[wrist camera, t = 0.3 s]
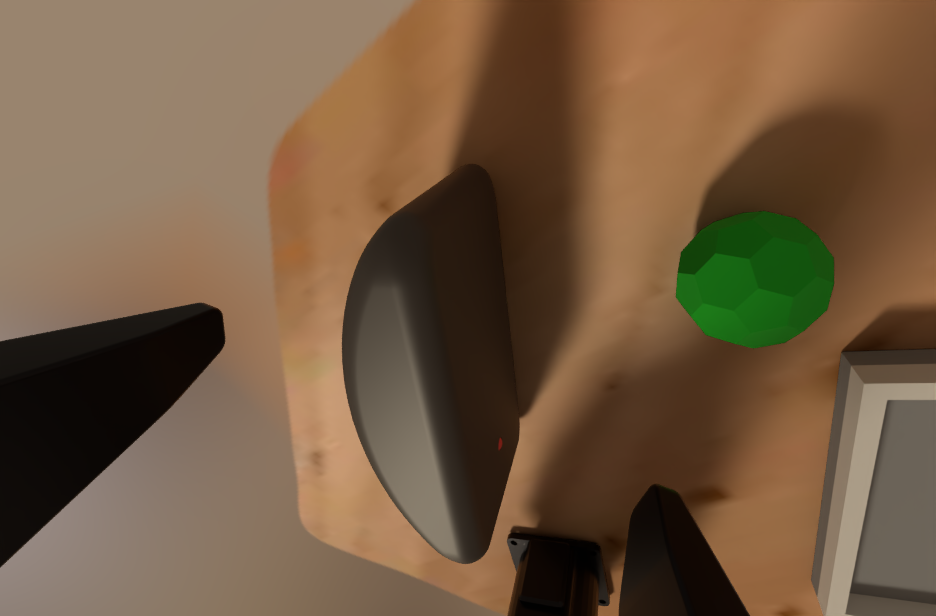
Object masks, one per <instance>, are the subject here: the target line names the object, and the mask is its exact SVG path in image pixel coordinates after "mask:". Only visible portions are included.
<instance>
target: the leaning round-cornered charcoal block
mask: <svg viewBox="0 0 936 616" xmlns="http://www.w3.org/2000/svg"><path fill="white" fill-rule="evenodd" d="M342 363H343V373H344V382H345V388H346V394H347V399H348V403H349V407H350V411H351V415H352V419H353V422H354V425H355V428H356V431H357V434H358V437H359V439H360V442H361V444H362V446H363V449H364V451H365V454H366V456H367V458H368V460H369V462H370V464H371V466H372V468H373V470H374V472H375V473H376V475H377V477H378V479H379V481H380V482H381V484H382V486H383V487H384V489H385V490H386V492H387V494H388V495H389V497H390V498H391V499H392V501H393V502H394V504H395V505H396V507H397V508H398V509H399V510H400V512H401V513H402V514H403V516H404V517H405V518H406V519H407V521H408V522H409V523H410V524H411V525H412V526H413V528H414V529H415V530H416V531H417V532H418V533H419V534H420V535H421V536H422V537H423V538H424V539H425V540H426V541H427V542H428V543H429V544H430V545H431V546H432V547H433V548H434V549H435V550H436V551H437V552H438V553H440V554H441V555H443V556H444V557H446V558H448V559H450V560H452V561H455V562H458V563H462V564H470V563H473V562H476V561H478V560H479V559H480V558H482V557H483V556H484V554H485V553H486V552H487V550H488V548H489V545H490V542H491V538H492V534H493V531H494V527H495V524H496V520H497V516H498V513H499V509H500V506H501V502H502V498H503V495H504V491H505V488H506V484H507V480H508V477H509V473H510V470H511V466H512V462H513V459H514V455H515V452H516V448H517V444H518V441H519V428H520V423H519V411H518V401H517V392H516V383H515V374H514V364H513V355H512V346H511V337H510V327H509V318H508V309H507V300H506V290H505V281H504V272H503V263H502V253H501V244H500V235H499V226H498V216H497V207H496V199H495V193H494V188H493V185H492V182H491V179H490V177H489V175H488V173H487V172H486V170H485V169H483V168H482V167H480V166H478V165H475V164H467V165H464V166H462V167H460V168H458V169H457V170H456V171H454V172H453V173H451V174H450V175H448V176H447V177H446V178H444V179H443V180H441V181H440V182H438V183H437V184H436V185H434V186H433V187H431V188H430V189H429V190H427V191H426V192H424V193H423V194H421V195H420V196H419V197H417V198H416V199H414V200H413V201H411V202H410V203H409V204H407V205H406V206H404V207H403V208H401V209H400V210H399V211H397V212H396V213H394V214H393V215H391V216H390V217H389V218H388V219H387V220H386V221H385V222H384V223H383V224H382V225H381V227H380V228H379V229H378V230H377V231H376V233H375V234H374V235H373V237H372V238H371V240H370V241H369V243H368V244H367V246H366V248H365V249H364V251H363V253H362V255H361V257H360V259H359V261H358V264H357V266H356V269H355V272H354V275H353V278H352V281H351V284H350V288H349V292H348V296H347V301H346V306H345V312H344V320H343V332H342Z"/></svg>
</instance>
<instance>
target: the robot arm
mask: <svg viewBox="0 0 936 616" xmlns="http://www.w3.org/2000/svg"><path fill="white" fill-rule="evenodd" d="M224 344H225V331H224V322H223V315H222V312H221V311H220V310H219V309H218V308H215V307H213V306H210V305H208V304H205V303H195V304H190V305H185V306H180V307H175V308H169V309H164V310H159V311H154V312H149V313H143V314H138V315H133V316H128V317H123V318H118V319H113V320H107V321H102V322H97V323H92V324H87V325H82V326H77V327H72V328H67V329H61V330H56V331H51V332H46V333H41V334H36V335H30V336H26V337H20V338H15V339H10V340H5V341H0V567H1V566H2V565H4V564H5V563H6V562H7V561H8V560H9V559H10V558H11V557H12V556H13V555H14V554H15V553H16V552H17V551H18V550H19V549H21V548H22V547H23V546H24V545H25V544H26V543H27V542H28V541H29V540H30V539H31V538H32V537H33V536H34V535H35V534H37V533H38V532H39V531H40V530H41V529H42V528H43V527H44V526H45V525H46V524H47V523H48V522H49V521H50V520H52V519H53V517H55V516H56V515H57V514H58V513H59V512H60V511H61V510H62V509H63V508H64V507H65V506H66V505H67V504H69V503H70V502H71V501H72V500H73V499H74V498H75V497H76V496H77V495H78V494H79V493H80V492H81V491H83V489H85V488H86V487H87V486H88V485H89V484H90V483H91V482H92V481H93V480H94V479H95V478H96V477H97V476H99V475H100V474H101V473H102V472H103V471H104V470H105V469H106V468H107V467H108V466H109V465H110V464H111V463H112V462H113V461H114V460H116V459H117V458H118V457H119V456H120V455H121V454H122V453H123V452H124V451H125V450H126V449H127V448H128V447H129V446H131V445H132V444H133V443H134V442H135V441H136V440H137V439H138V438H139V437H140V436H141V435H142V434H143V433H144V432H145V431H146V430H148V429H149V428H150V427H151V426H152V425H153V424H154V423H155V422H156V421H157V420H158V419H159V418H160V417H161V416H163V415H164V414H165V412H167V411H168V410H169V409H170V408H171V407H172V406H173V405H174V403H175V402H176V401H177V400H178V399H179V398H180V397H181V396H182V395H183V394H184V392H185V391H186V390H187V389H188V388H189V387H190V386H191V385H192V383H193V382H194V381H195V380H196V379H197V377H199V375H200V374H201V373H202V372H203V371H204V370H205V369H206V368H207V366H208V365H209V364H210V363H211V362H212V361H213V359H214V358H215V357H216V356H217V355H218V354H219V353H220V351H221V350H222V348H223V347H224ZM507 543H508V546H509V549H510V553H511V556H512V559H513V562H514V565H515V568H516V571H517V573H516V578H515V583H514V588H513V592H512V597H511V602H510V606H509V611H508V616H598V605H601V606H608V605H609V603H610V596H609V591H608V585H607V580H606V574H605V569H604V564H603V558H602V553H601V548H600V546H598V545H597V544H595V543H589V542H581V541H572V540H564V539H556V538H548V537H540V536H531V535H523V534H515V533H511V534H509V535H508V539H507ZM619 616H750V615H749V613H748V611H747V610H746V608H745V606H744V604H743V603H742V601H741V599H740V598H739V596H738V594H737V592H736V591H735V589H734V587H733V586H732V584H731V582H730V580H729V579H728V577H727V575H726V573H725V572H724V570H723V568H722V567H721V565H720V563H719V561H718V560H717V558H716V556H715V554H714V553H713V551H712V549H711V548H710V546H709V544H708V542H707V541H706V539H705V537H704V535H703V534H702V532H701V530H700V529H699V527H698V525H697V523H696V522H695V520H694V518H693V517H692V515H691V513H690V511H689V510H688V508H687V506H686V504H685V503H684V501H683V499H682V498H681V496H680V495H679V494H678V492H676V491H674V490H672V489H669V488H667V487H664V486H662V485H659V484H653V485H651V486H650V487H649V489H648V490H647V492H646V493H645V494H644V496H643V497H642V498H641V500H640V501H639V502H638V504H637V505H636V507H635V508H634V510H633V512H632V515H631V519H630V525H629V532H628V540H627V547H626V555H625V562H624V570H623V577H622V585H621V593H620V602H619Z"/></svg>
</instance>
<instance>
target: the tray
mask: <svg viewBox="0 0 936 616" xmlns="http://www.w3.org/2000/svg"><path fill="white" fill-rule="evenodd" d="M811 581H812V584H813V587H814V590H815V592H816V595H817V598H818V601H819V604H820V607H821V610H822V613H823V616H936V349H918V350H886V351H854V352H841V360H840V367H839V375H838V382H837V390H836V397H835V405H834V412H833V420H832V427H831V435H830V442H829V450H828V457H827V465H826V472H825V480H824V487H823V495H822V502H821V510H820V517H819V525H818V532H817V540H816V548H815V555H814V563H813V570H812V578H811Z"/></svg>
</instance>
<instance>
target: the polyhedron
mask: <svg viewBox="0 0 936 616" xmlns="http://www.w3.org/2000/svg"><path fill="white" fill-rule="evenodd" d="M833 286H834V258H833V256H832V255H831V253H830V252H829V251H828V249H827V248H826V246H825V245H824V243H823V242H822V241H821V239H820V238H819V236H818V235H817V234H816V233H814V232H813V231H812V230H810V229H809V228H808V227H807V226H805V225H804V224H803V223H801V222H800V221H799V220H797V219H796V218H792V217H788V216H783V215H779V214H775V213H771V212H766V211H759V212H748V213H741V214H738V215H735V216H731V217H728V218H725V219H722V220H719V221H715V222H713V223H712V224H710V225H708V226H707V227H705V228H704V229H702V230H701V231H700V232H699V233H698V234H697V235H696V236H695V237H694V239H693V240H692V241H691V242H690V243H689V244H688V245H687V246H686V247H685V248H684V249H683V251H682V252H681V256H680V262H679V268H678V275H677V288H676V298H677V299H678V301H679V302H680V303H681V305H682V306H683V307H684V309H685V310H686V311H687V312H688V314H689V315H690V316H691V317H692V319H693V320H694V321H695V322H696V324H697V325H698V326H699V327H700V328H701V330H702V331H703V332H704V333H705V335H708V336H711V337H714V338H718V339H721V340H724V341H727V342H731V343H734V344H738V345H742V346H745V347H749V348H759V347H764V346H770V345H775V344H781V343H785V342H787V341H788V340H790V339H792V338H793V337H795V336H797V335H798V334H800V333H801V332H803V331H804V330H805V329H807V328H808V327H809V326H810V325H811V324H812V323H813V322H814V321H815V320H817V319H818V318H819V317H820V316H821V315H822V314H823V313H824V312H825V311H827V309H828V305H829V301H830V297H831V293H832V290H833Z"/></svg>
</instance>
